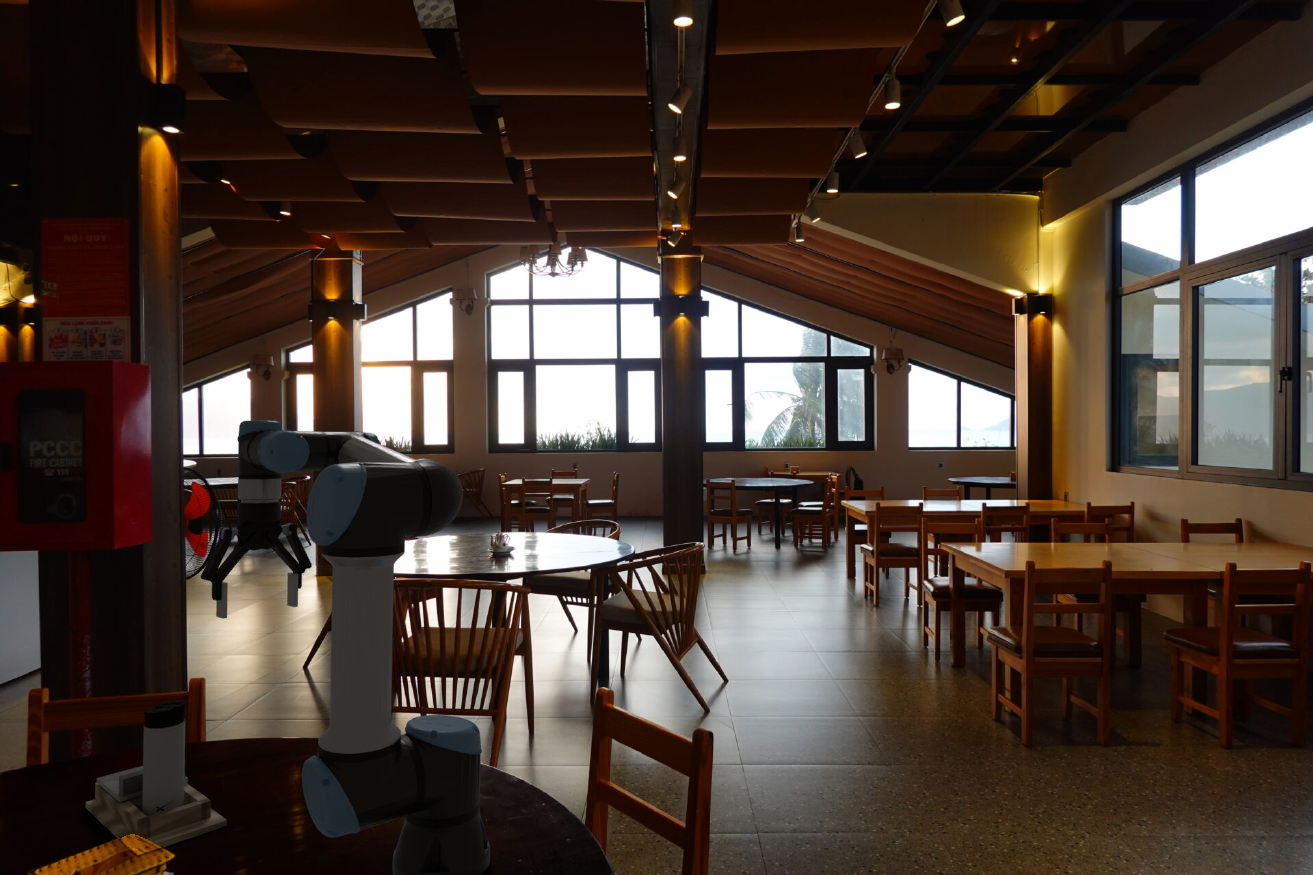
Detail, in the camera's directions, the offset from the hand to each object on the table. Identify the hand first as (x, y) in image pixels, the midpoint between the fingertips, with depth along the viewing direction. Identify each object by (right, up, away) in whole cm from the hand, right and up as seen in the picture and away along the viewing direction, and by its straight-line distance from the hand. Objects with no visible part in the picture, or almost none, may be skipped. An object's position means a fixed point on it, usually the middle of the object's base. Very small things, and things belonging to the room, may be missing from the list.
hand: (258, 611), depth 157 cm
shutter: (-18, -30, -7) cm, 35 cm away
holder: (-13, -34, -11) cm, 38 cm away
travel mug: (-10, -34, -13) cm, 37 cm away
